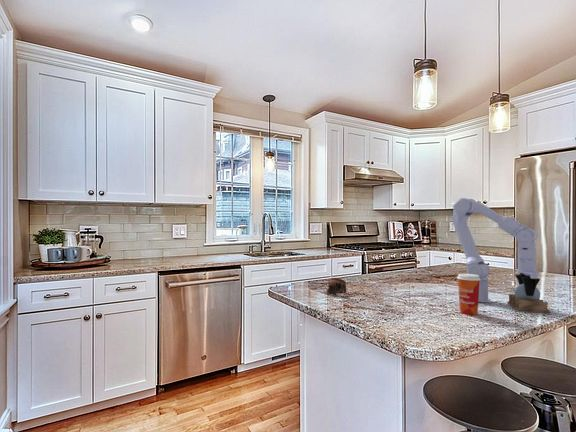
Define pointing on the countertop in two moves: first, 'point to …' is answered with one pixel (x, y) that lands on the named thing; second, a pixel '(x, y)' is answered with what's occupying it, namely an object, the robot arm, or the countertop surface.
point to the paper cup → (468, 293)
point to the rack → (528, 304)
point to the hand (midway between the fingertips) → (527, 294)
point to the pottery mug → (336, 286)
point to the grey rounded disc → (521, 293)
